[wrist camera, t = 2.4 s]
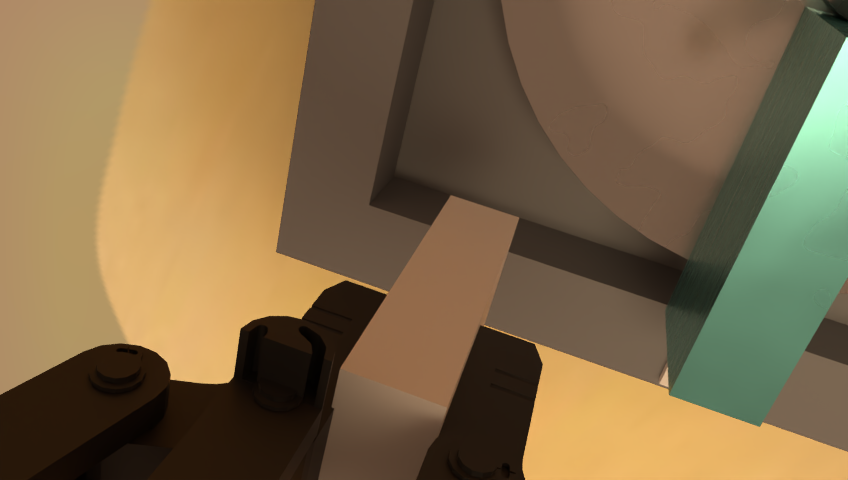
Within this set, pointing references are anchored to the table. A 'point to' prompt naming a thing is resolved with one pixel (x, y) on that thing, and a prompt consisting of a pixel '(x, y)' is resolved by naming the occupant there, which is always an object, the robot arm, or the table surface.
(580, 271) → the housing
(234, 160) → the table surface
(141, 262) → the table surface
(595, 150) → the dial
